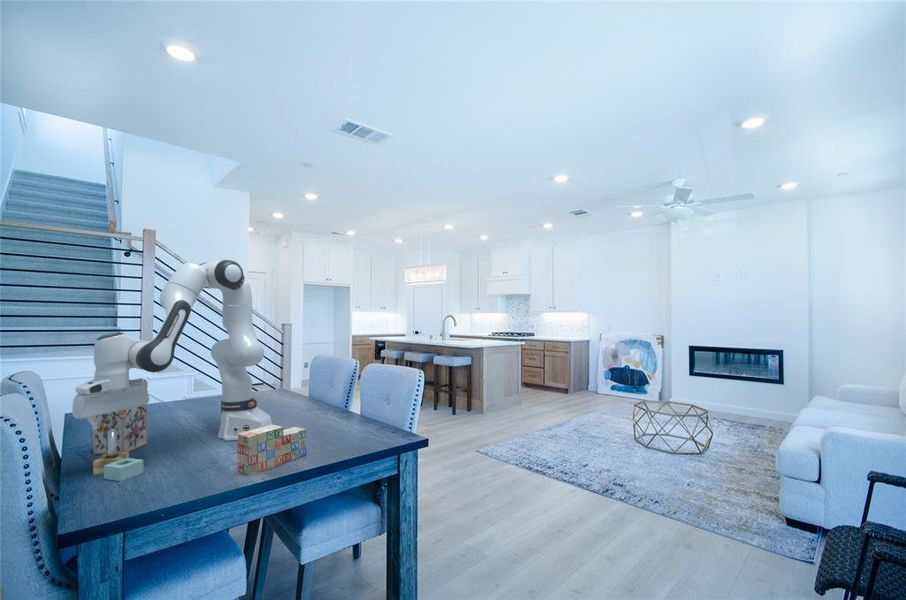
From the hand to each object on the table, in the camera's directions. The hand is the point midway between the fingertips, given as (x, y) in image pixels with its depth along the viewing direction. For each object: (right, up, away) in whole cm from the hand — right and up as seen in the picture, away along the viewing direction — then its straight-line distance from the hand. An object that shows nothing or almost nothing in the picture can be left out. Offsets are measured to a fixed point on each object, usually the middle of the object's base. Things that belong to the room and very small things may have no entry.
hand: (113, 425), depth 139 cm
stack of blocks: (+51, -14, +4) cm, 53 cm away
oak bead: (0, -14, -1) cm, 14 cm away
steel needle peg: (0, -14, -1) cm, 14 cm away
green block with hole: (+8, -14, -6) cm, 17 cm away
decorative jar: (-12, -15, +19) cm, 27 cm away
